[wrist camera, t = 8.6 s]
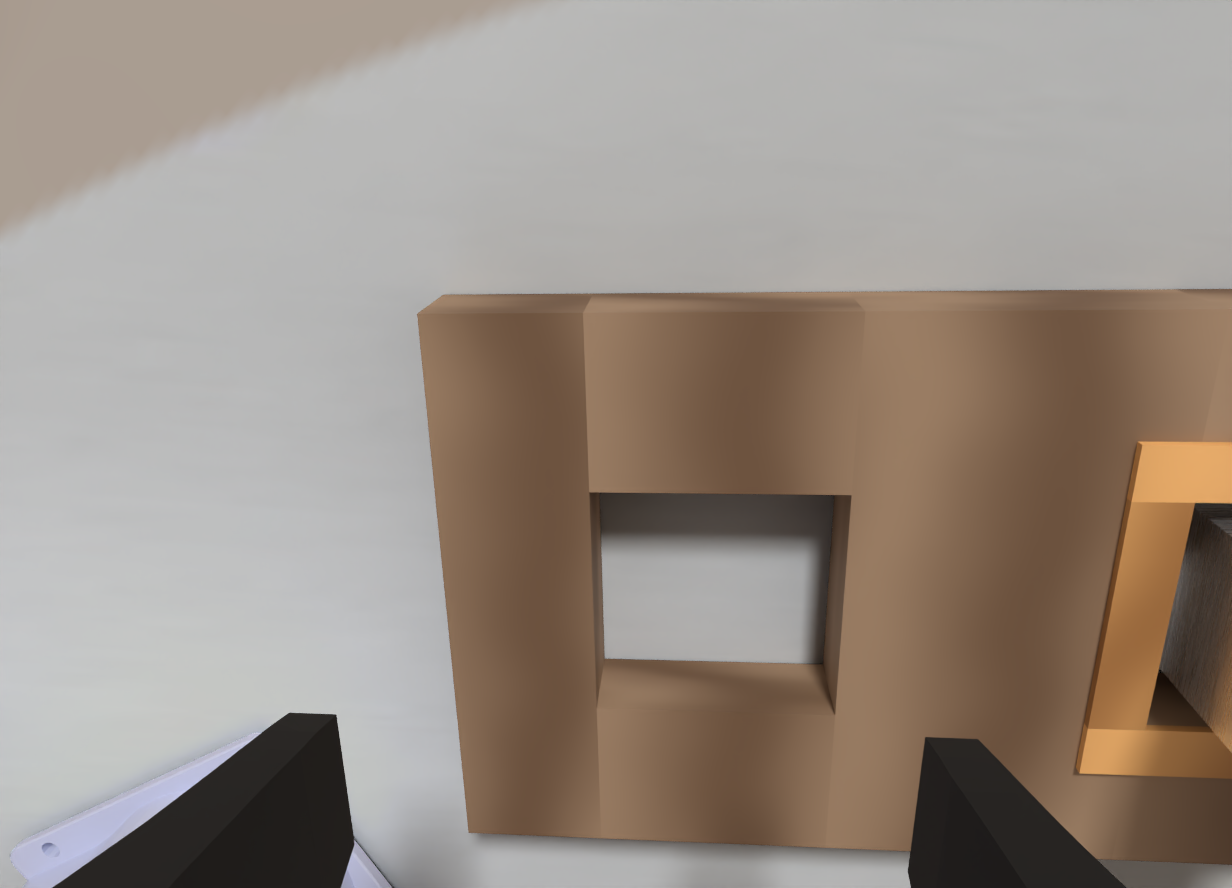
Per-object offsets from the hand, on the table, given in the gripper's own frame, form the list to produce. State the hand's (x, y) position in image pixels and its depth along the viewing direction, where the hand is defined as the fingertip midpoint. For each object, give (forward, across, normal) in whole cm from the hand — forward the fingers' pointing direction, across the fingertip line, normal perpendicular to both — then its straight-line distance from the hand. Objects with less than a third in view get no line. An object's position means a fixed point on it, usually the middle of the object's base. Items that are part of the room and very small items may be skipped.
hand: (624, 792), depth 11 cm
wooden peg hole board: (+10, -8, +2) cm, 13 cm away
